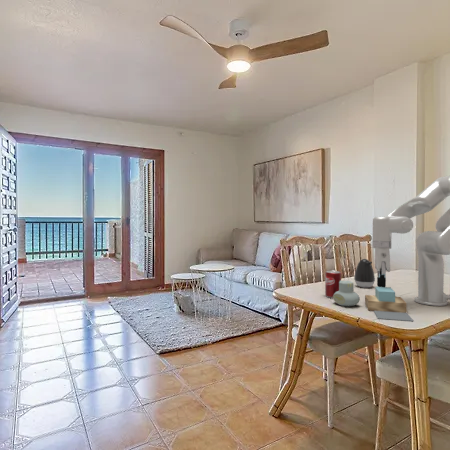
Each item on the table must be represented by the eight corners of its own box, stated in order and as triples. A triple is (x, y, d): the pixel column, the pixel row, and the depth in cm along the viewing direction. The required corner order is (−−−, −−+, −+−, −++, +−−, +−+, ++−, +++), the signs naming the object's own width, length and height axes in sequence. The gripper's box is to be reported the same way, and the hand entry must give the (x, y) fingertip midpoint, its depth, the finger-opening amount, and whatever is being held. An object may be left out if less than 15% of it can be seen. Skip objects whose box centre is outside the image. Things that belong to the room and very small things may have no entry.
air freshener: (330, 302, 145) (330, 280, 145) (344, 300, 149) (344, 278, 148) (348, 309, 135) (348, 285, 135) (363, 306, 139) (363, 283, 138)
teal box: (390, 296, 139) (390, 287, 139) (395, 302, 131) (395, 292, 130) (375, 295, 141) (375, 286, 141) (378, 301, 132) (378, 291, 132)
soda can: (330, 299, 152) (330, 273, 151) (322, 295, 159) (322, 270, 158) (344, 298, 153) (344, 272, 153) (336, 294, 160) (336, 270, 160)
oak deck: (400, 306, 139) (400, 296, 139) (406, 313, 129) (406, 303, 129) (365, 304, 143) (365, 294, 143) (368, 310, 133) (368, 300, 133)
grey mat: (406, 313, 129) (406, 312, 129) (413, 321, 119) (413, 320, 119) (373, 311, 132) (373, 310, 132) (377, 318, 122) (377, 318, 122)
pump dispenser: (363, 289, 170) (363, 260, 169) (350, 285, 180) (350, 258, 179) (379, 288, 172) (379, 259, 172) (366, 284, 182) (366, 257, 182)
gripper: (394, 246, 134) (394, 290, 135) (388, 243, 148) (387, 283, 149) (374, 246, 136) (374, 289, 137) (370, 243, 151) (369, 282, 151)
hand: (381, 286), depth 143 cm, fingers closed
